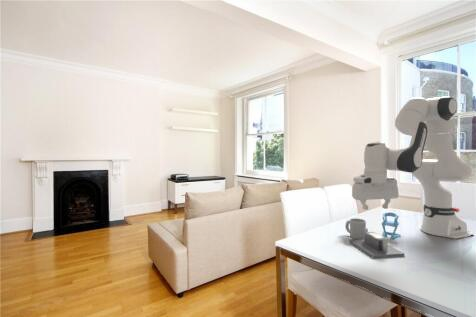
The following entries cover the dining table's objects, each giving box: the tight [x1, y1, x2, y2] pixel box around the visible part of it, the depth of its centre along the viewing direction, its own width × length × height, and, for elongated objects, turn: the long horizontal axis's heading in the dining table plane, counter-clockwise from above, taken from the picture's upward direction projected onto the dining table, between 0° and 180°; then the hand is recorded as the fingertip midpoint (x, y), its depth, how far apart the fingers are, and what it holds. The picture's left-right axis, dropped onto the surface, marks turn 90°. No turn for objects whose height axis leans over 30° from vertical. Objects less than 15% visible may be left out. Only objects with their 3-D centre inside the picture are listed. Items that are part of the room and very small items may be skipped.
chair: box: [381, 212, 401, 240], centre depth 120 cm, size 8×8×12 cm
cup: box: [345, 217, 367, 240], centre depth 120 cm, size 7×10×9 cm
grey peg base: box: [349, 227, 405, 259], centre depth 106 cm, size 14×17×7 cm
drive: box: [364, 231, 388, 251], centre depth 105 cm, size 4×9×5 cm, turn 6°
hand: (375, 208), depth 105 cm, fingers open, 8 cm apart
